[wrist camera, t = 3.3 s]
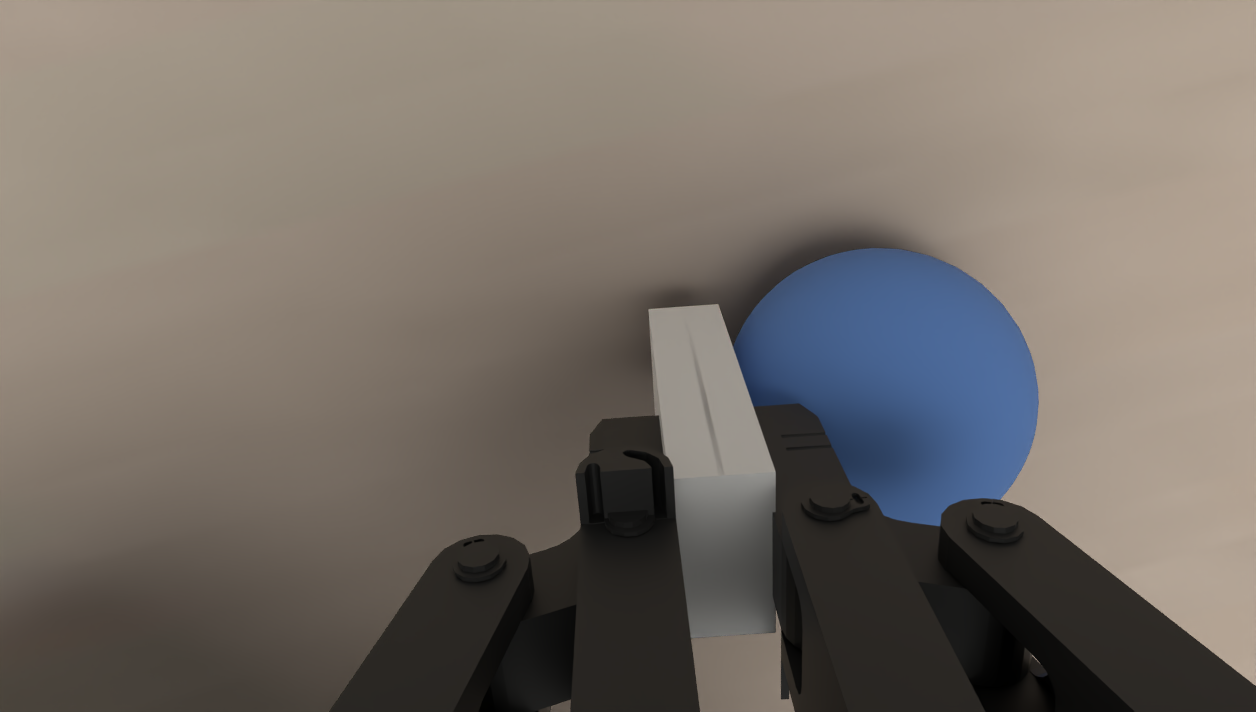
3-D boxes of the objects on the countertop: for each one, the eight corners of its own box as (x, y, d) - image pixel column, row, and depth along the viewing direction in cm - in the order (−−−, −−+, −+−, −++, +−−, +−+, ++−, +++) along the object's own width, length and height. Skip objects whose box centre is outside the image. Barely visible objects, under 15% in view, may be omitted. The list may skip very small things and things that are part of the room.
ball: (901, 419, 22) (1104, 538, 17) (694, 503, 20) (850, 664, 15) (891, 192, 19) (1126, 248, 14) (654, 264, 18) (825, 358, 12)
